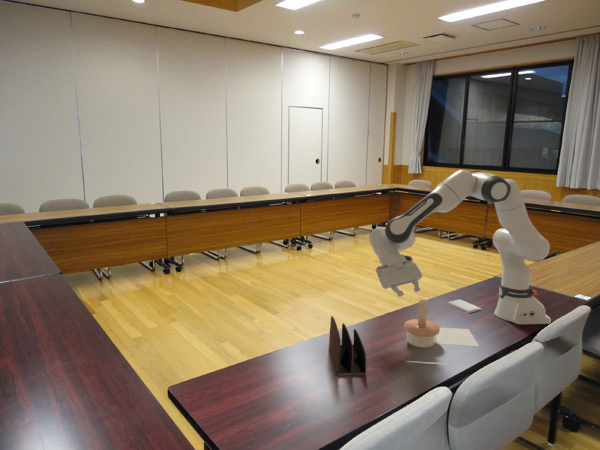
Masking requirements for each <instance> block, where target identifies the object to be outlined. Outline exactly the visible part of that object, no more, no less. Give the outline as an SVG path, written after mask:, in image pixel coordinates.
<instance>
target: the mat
mask: <svg viewBox="0 0 600 450" xmlns="http://www.w3.org/2000/svg"><path fill="white" fill-rule="evenodd" d="M439 328H440V330H439V334H437V335H435V340H436V341H437V343H438V345H447V346H464V347H465V346H466V347H480V345H479V343H478V342H477V340H476V339H475V337H474V335H473V334H472V332H471V331H470V329H469V328H453V327H450V328H449V327H439Z"/></svg>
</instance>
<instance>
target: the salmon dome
mask: <svg viewBox="0 0 600 450" xmlns="http://www.w3.org/2000/svg"><path fill="white" fill-rule="evenodd" d="M428 307H429V302H428V300H427V299H425V298H421V299H420V300H419V301H418V318H417V319H416V318H413V319H409V320H407V321H405V322H404V326H403V328H404V330H405V331H406V333H407V332H409V333H411V334H413V335H417V336H422V337H431V336H435V335H437V334H439V330H440V328H441V327H440V326H439V325H438V324H437V323H435V322H433V321H430V320H427V315H428Z"/></svg>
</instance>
